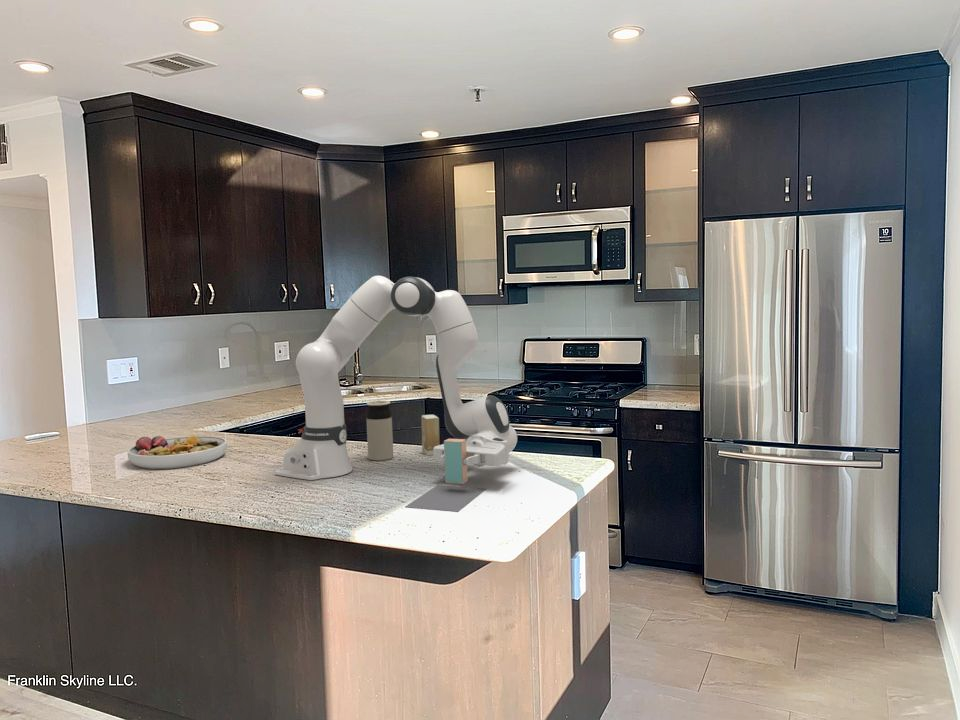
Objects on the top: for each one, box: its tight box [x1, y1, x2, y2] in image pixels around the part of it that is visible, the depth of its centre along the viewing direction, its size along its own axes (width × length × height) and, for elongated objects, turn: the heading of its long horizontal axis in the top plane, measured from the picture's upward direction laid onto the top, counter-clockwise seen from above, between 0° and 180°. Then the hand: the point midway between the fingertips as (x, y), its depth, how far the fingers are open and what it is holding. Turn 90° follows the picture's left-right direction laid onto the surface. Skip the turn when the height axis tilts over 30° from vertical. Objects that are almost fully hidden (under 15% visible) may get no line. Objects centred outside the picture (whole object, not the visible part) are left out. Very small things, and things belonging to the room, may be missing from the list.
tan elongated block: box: [443, 438, 469, 485], centre depth 184 cm, size 5×3×11 cm, turn 68°
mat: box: [404, 484, 487, 513], centre depth 179 cm, size 14×20×1 cm
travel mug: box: [365, 400, 394, 462], centre depth 225 cm, size 8×8×18 cm
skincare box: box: [421, 414, 440, 456], centre depth 230 cm, size 6×4×12 cm
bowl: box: [127, 434, 228, 470], centre depth 232 cm, size 30×30×8 cm
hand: (453, 460), depth 183 cm, fingers closed on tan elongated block, 5 cm apart
